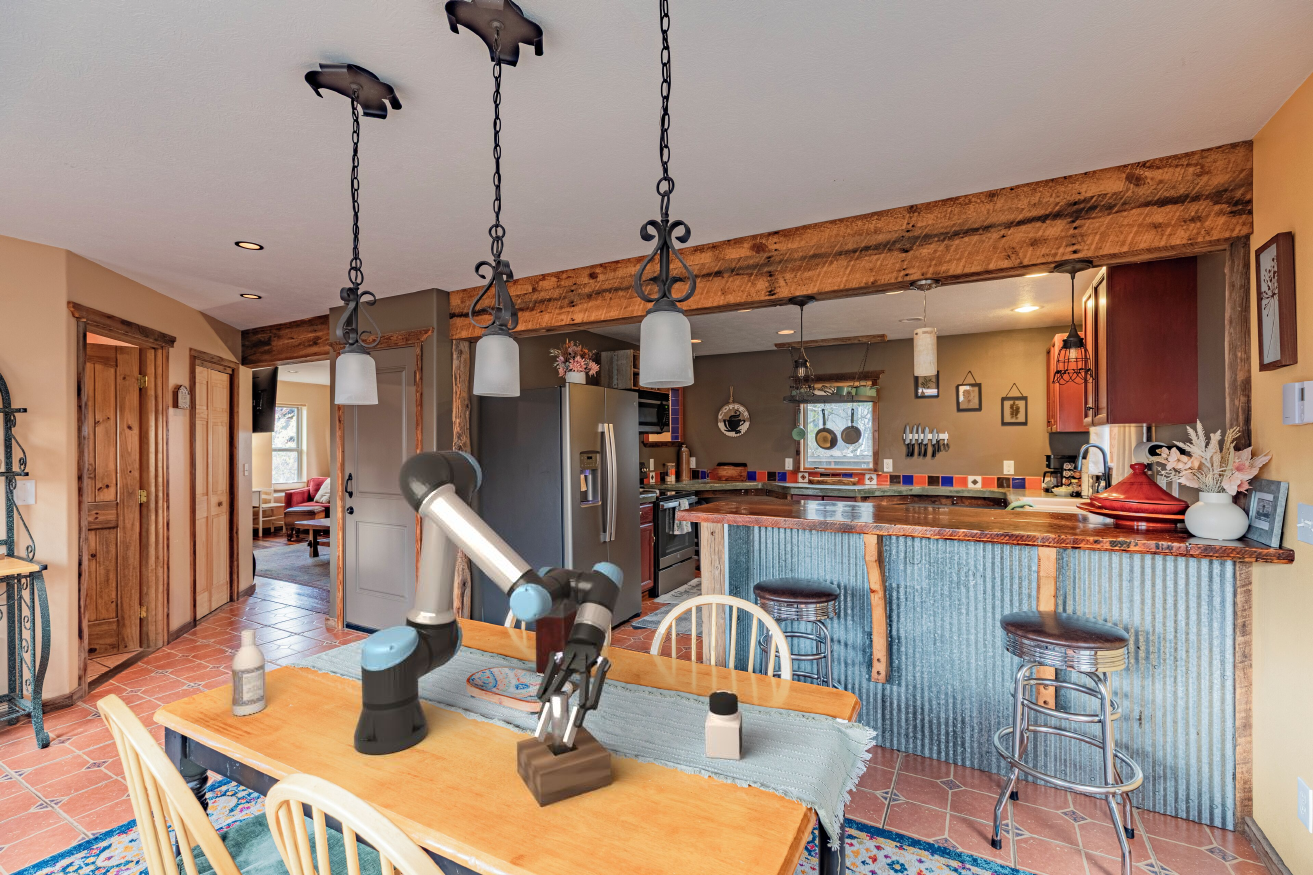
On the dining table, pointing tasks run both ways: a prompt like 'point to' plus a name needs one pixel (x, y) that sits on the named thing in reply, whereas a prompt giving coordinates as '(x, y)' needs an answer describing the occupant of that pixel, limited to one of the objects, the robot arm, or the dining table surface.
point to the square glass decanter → (553, 634)
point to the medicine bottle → (723, 726)
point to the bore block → (563, 767)
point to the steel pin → (559, 721)
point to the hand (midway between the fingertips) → (552, 741)
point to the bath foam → (248, 677)
